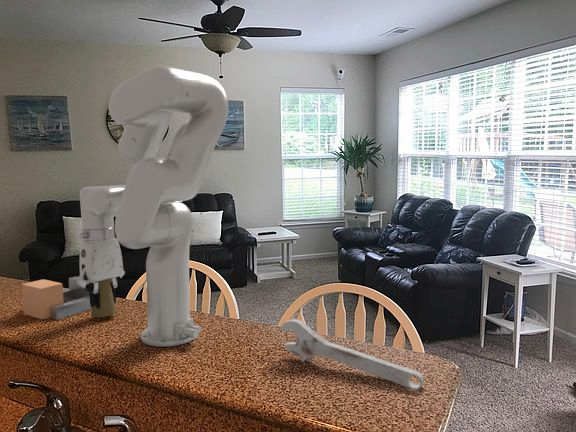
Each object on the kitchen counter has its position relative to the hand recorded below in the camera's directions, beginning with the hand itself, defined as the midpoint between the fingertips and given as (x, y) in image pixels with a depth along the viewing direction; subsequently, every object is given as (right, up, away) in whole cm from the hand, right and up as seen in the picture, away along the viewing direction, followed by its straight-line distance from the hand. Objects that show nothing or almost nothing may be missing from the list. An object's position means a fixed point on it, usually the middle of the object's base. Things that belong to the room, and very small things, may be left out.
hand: (103, 304), depth 123 cm
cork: (0, -3, 0) cm, 3 cm away
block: (-17, -3, +3) cm, 17 cm away
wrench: (+59, -8, -29) cm, 66 cm away
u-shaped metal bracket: (-13, -2, +8) cm, 16 cm away
